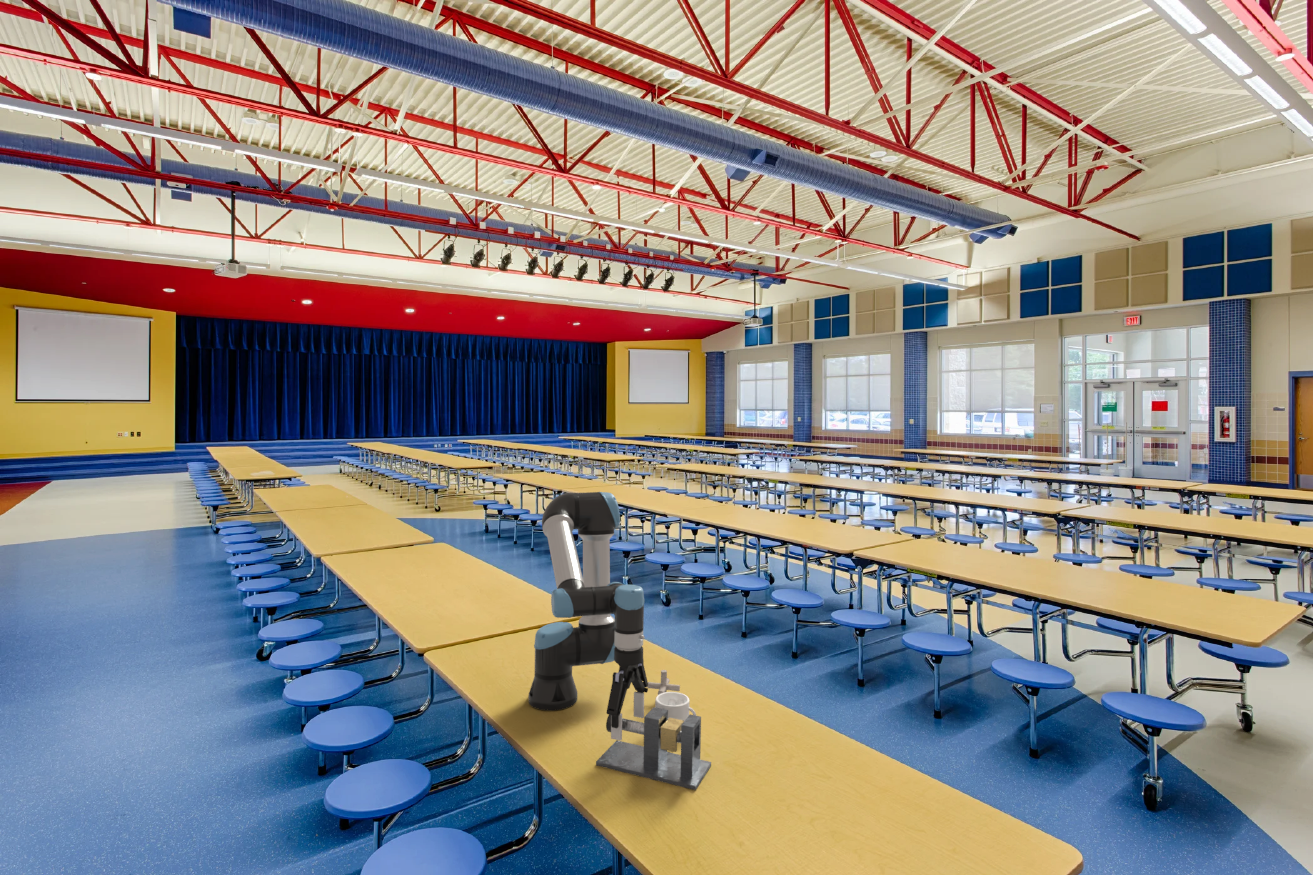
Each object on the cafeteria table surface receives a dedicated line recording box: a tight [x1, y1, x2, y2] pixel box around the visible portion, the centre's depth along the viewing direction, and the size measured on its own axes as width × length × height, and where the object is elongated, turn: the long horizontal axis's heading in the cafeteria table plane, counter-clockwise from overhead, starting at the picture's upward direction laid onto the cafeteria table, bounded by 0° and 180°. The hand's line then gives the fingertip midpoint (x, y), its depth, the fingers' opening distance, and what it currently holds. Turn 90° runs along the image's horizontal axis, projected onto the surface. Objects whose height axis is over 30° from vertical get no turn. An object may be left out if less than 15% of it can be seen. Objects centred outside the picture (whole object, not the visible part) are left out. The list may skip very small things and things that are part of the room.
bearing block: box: [595, 707, 712, 791], centre depth 168 cm, size 27×12×14 cm, turn 67°
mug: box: [654, 691, 697, 721], centre depth 187 cm, size 12×10×9 cm
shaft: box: [605, 714, 695, 744], centre depth 168 cm, size 23×5×5 cm, turn 67°
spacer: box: [661, 718, 684, 753], centre depth 166 cm, size 4×6×6 cm
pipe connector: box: [647, 669, 681, 696], centre depth 205 cm, size 10×10×10 cm
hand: (627, 727), depth 170 cm, fingers open, 13 cm apart
